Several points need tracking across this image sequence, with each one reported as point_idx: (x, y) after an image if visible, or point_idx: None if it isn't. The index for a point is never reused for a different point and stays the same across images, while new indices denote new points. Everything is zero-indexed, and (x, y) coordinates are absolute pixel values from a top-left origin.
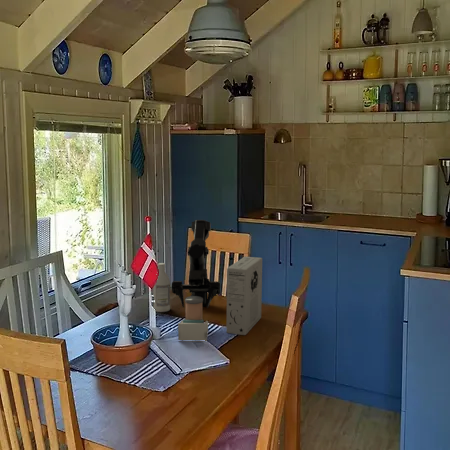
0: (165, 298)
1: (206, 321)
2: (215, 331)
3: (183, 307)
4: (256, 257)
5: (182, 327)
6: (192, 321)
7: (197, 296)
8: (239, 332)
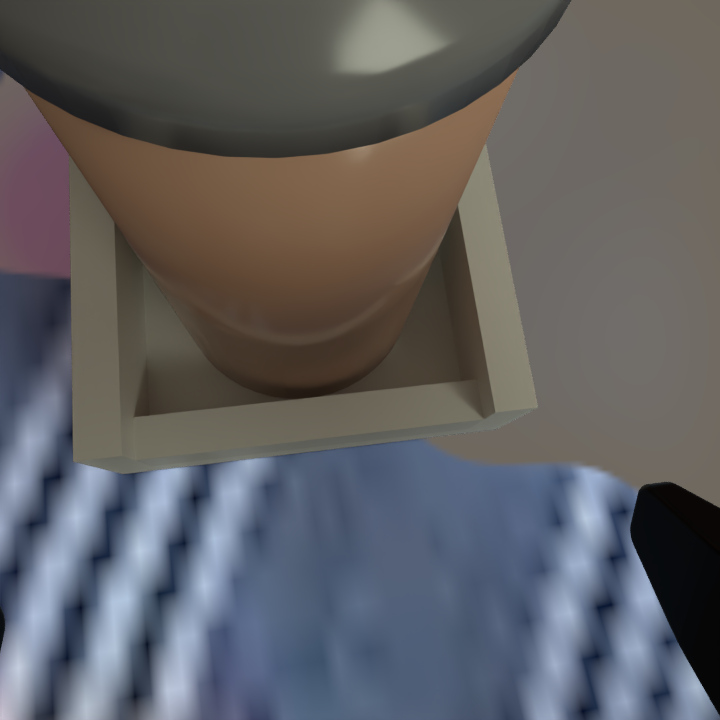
0: None
1: (103, 435)
2: (13, 433)
3: (633, 522)
4: None
5: None
6: None
7: (124, 37)
8: None
